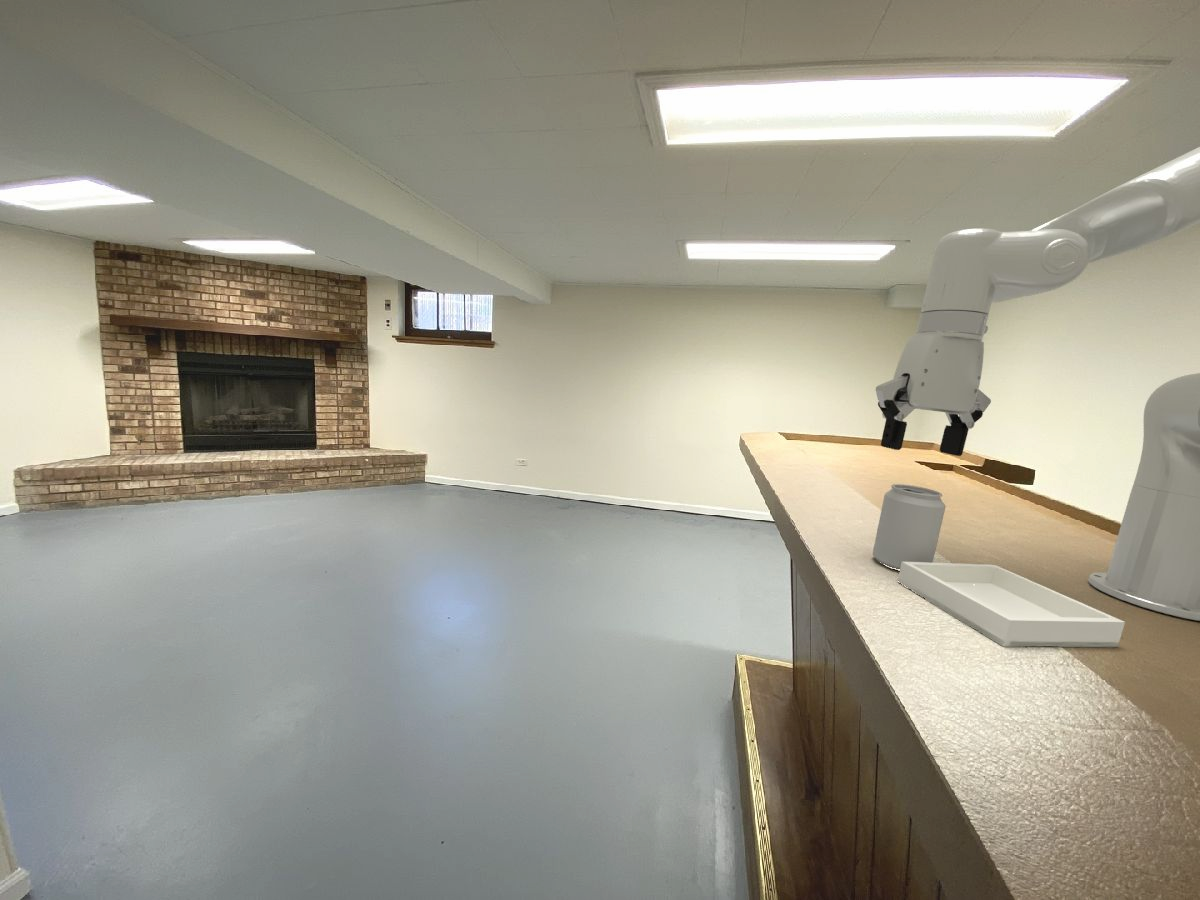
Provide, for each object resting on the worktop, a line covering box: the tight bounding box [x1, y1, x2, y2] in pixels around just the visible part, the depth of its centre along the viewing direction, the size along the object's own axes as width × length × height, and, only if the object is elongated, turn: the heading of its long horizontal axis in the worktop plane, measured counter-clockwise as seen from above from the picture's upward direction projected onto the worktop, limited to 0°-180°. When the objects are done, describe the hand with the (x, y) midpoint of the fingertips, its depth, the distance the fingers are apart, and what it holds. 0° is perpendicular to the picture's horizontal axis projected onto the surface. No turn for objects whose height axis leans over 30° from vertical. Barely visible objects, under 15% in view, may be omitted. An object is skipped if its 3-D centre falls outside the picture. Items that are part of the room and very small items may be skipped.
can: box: [872, 483, 947, 569], centre depth 68 cm, size 8×8×12 cm
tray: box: [897, 562, 1126, 648], centre depth 56 cm, size 15×15×3 cm
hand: (920, 451), depth 66 cm, fingers open, 9 cm apart
